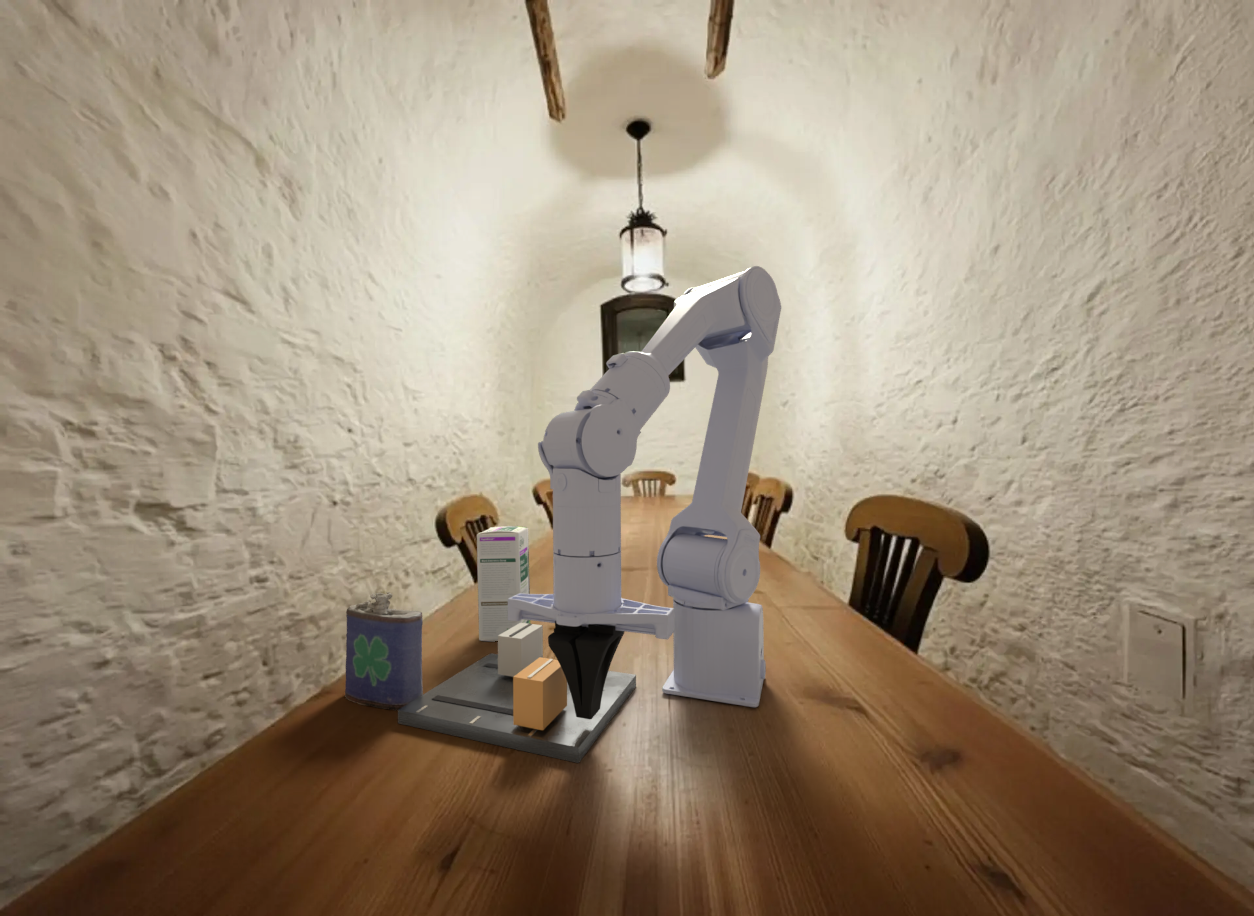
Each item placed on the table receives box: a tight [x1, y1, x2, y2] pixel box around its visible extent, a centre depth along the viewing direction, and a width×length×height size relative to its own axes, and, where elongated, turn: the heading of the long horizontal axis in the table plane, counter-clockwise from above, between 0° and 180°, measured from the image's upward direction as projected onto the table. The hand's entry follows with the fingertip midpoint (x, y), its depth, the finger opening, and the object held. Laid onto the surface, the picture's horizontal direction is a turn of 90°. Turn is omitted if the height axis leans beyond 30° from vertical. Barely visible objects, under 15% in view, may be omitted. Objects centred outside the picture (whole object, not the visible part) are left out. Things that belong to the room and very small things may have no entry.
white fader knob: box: [497, 622, 544, 677], centre depth 53 cm, size 3×4×4 cm, turn 160°
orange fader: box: [513, 657, 567, 730], centre depth 43 cm, size 3×4×4 cm, turn 160°
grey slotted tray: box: [397, 653, 637, 764], centre depth 48 cm, size 18×14×1 cm
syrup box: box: [476, 525, 532, 642], centre depth 68 cm, size 6×6×14 cm
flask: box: [344, 591, 424, 712], centre depth 49 cm, size 9×3×11 cm, turn 68°
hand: (588, 712), depth 42 cm, fingers closed
